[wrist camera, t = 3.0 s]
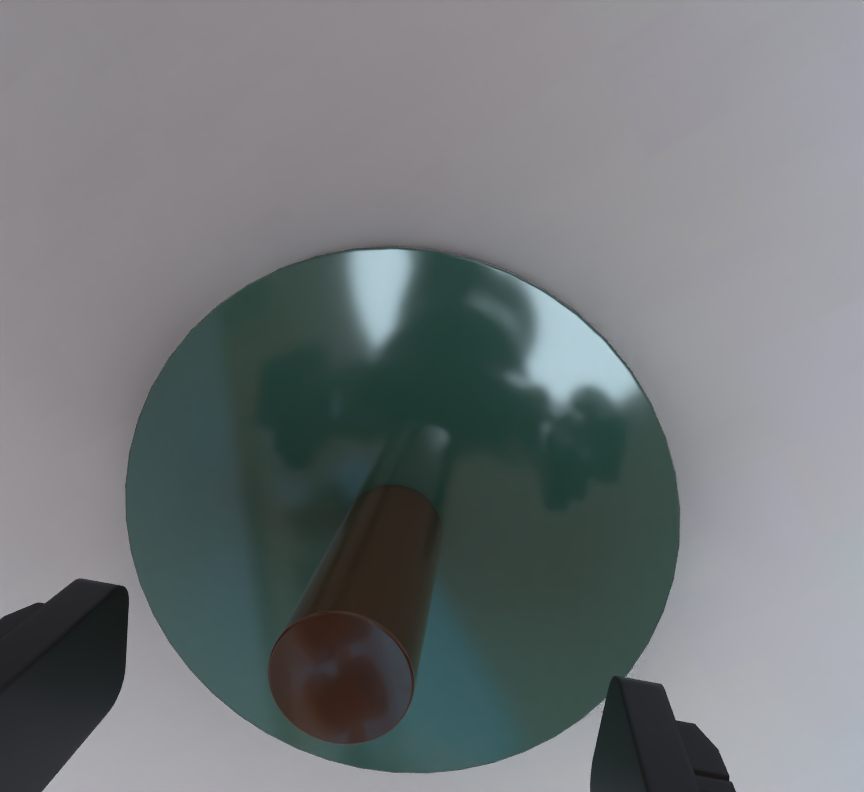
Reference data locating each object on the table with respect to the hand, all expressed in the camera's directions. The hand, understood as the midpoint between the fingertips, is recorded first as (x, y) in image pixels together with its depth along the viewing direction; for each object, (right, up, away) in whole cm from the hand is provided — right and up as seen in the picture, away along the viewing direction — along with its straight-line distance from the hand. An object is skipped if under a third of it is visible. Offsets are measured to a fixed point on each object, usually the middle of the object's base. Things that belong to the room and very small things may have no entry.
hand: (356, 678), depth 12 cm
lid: (0, +1, +6) cm, 6 cm away
